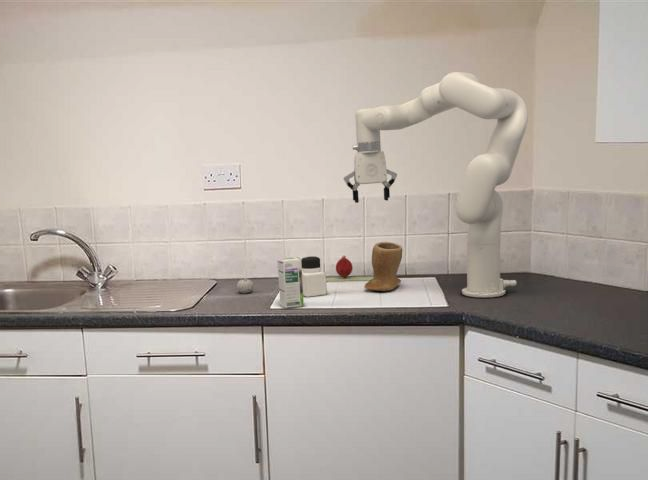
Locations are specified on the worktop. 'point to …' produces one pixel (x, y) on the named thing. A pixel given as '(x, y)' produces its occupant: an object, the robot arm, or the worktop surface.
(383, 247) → the stone cup
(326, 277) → the edge strip
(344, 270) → the pomegranate
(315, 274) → the medicine bottle
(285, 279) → the syrup box
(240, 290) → the garlic
